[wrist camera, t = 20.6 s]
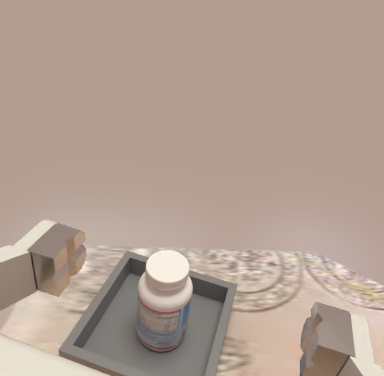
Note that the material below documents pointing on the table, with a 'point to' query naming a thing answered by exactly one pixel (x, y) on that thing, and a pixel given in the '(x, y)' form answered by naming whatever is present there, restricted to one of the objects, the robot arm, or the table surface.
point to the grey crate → (127, 335)
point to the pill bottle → (164, 301)
